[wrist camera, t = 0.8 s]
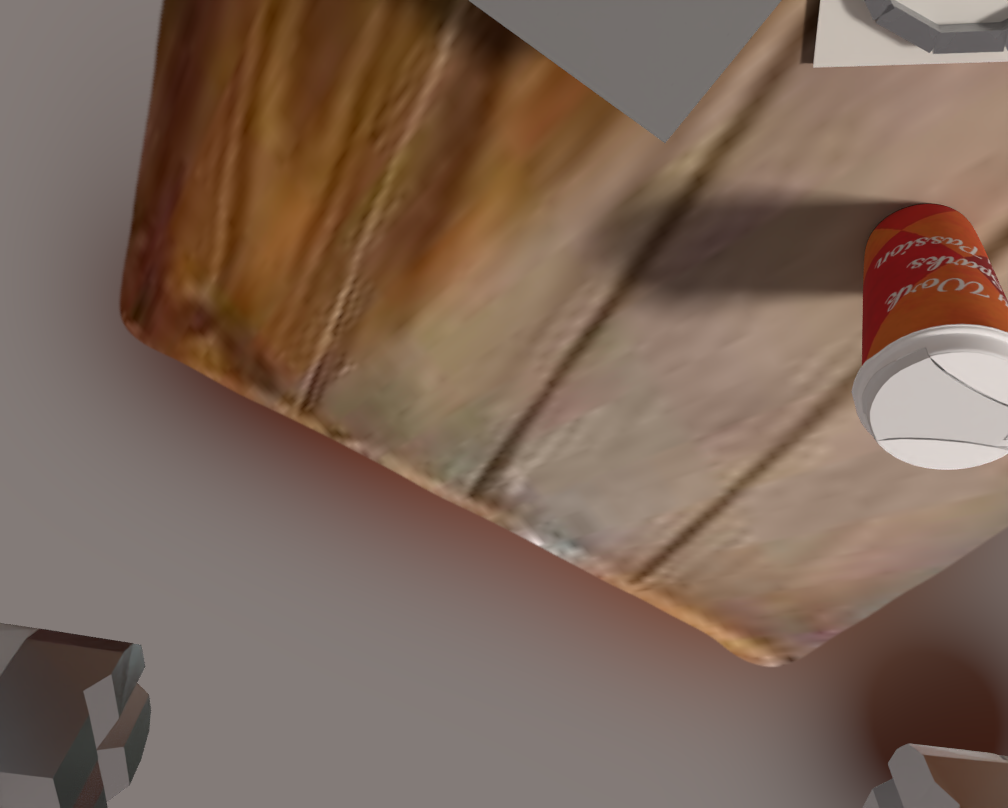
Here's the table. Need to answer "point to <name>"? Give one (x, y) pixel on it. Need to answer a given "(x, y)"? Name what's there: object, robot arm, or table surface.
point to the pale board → (865, 43)
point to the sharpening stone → (638, 47)
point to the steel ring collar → (938, 30)
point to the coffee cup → (933, 342)
